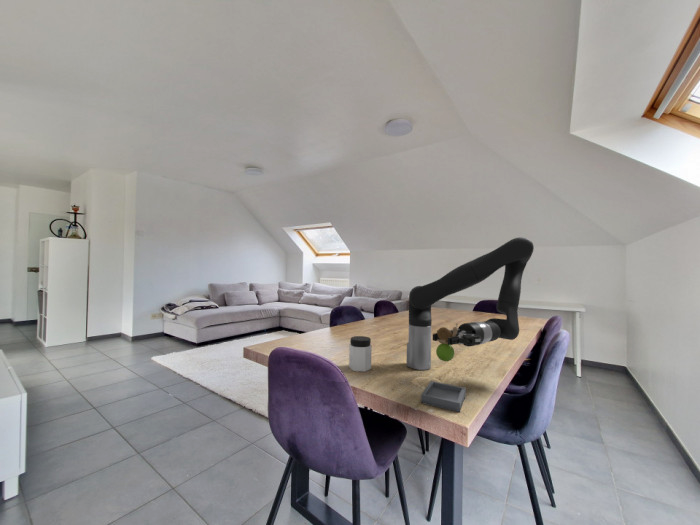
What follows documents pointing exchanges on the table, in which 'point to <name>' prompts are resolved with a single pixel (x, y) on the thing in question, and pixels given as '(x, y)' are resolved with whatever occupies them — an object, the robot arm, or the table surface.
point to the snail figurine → (445, 344)
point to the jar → (360, 353)
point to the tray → (444, 396)
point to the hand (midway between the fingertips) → (441, 339)
